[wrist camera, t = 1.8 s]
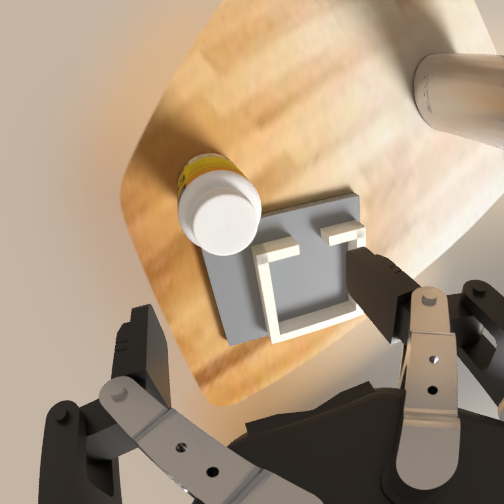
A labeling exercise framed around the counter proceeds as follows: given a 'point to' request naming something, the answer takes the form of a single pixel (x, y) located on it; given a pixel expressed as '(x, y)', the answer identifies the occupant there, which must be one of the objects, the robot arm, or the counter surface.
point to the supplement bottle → (217, 205)
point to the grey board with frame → (289, 272)
